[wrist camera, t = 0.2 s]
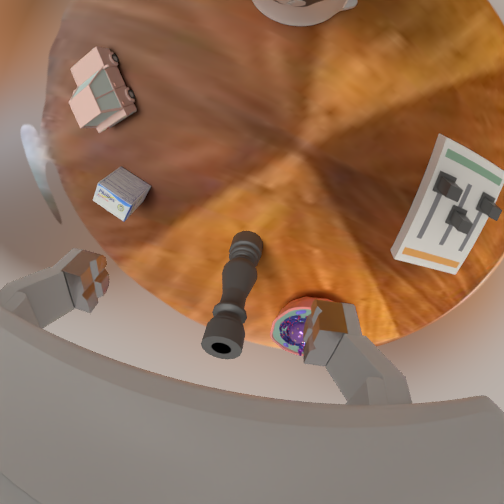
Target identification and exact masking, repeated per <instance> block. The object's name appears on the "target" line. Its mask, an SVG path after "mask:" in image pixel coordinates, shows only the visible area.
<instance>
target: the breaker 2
mask: <svg viewBox="0 0 504 504" xmlns="http://www.w3.org/2000/svg"><path fill="white" fill-rule="evenodd" d="M494 201H495V198H494V197H492V196H490V195H489V194H487V193H485V192H483V194H482V196H481V198H480V200H479V202H478V205H477V207H476V210H478V211H480V212H482V213H484V214H486V215H487V216H488V217H490V218H492V219H494V220H496V221H497V220H498V218H499V216H500V214H501V212H502V210H501V209H500V208H499V207H498V206H497V205H496V204H495V203H494Z"/></svg>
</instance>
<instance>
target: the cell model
mask: <svg viewBox="0 0 504 504" xmlns="http://www.w3.org/2000/svg"><path fill="white" fill-rule="evenodd" d="M314 299H319V300H325V301H331V302H334V301H332V300H330V299H327V298H315V297H302V298H299V299H296V300H293V301H291V302H289V303H288V304H287V305H286V306H284V307H283V308H282V309H281V310H280V312H279V314H278V315H277V317H276V318H275V320H274V321H273V323H272V329H271V332H270V337H271V339H272V340H273V341H274V342H275V343H276V344H277V345H279V346H280V347H281V348H282V349H283V350H285V351H288V352H290V353H293V354H297V355H300V356H304V354H303V349H304V347H305V344H306V343H305V342H304V340H303V330H304V325H305V321H306V319H307V316H308V315H310V314H311V305H312V303H313V301H314Z"/></svg>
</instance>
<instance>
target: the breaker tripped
mask: <svg viewBox="0 0 504 504" xmlns="http://www.w3.org/2000/svg"><path fill="white" fill-rule="evenodd" d="M467 212H468V211H467V210H465V209H463V208H460V207H458V206H456V205H453V207H452V209H451V211H450V213H449V215H448V217H447V219H446V221H445V223H447V224H449V225H452V226H454V227H455V228H456V230H457V231H459V232H462V233H465V234H467V235H468V233H469V231H470V229H471V227H472V225H473V223H472V222H471V221H470V220H469V219H468V217H467V216H466V214H467Z"/></svg>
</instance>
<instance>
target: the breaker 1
mask: <svg viewBox="0 0 504 504" xmlns="http://www.w3.org/2000/svg"><path fill="white" fill-rule="evenodd" d="M456 180H457V178H456V177H453V176H451V175H449V174H447V173H445V172H443V171H440V173H439V175H438V178H437V180H436V183H435V185H434V188H433V191H434V192H437V193H439V194H442V195H444V196H445V197H446V198H449V199H451V200H453V201H456V202H458V201H459V199H460V196H461V194H462V192H463V190H462V189H461V188H460V187H459V186H458V185H457V184H456V183H455V182H456Z"/></svg>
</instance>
